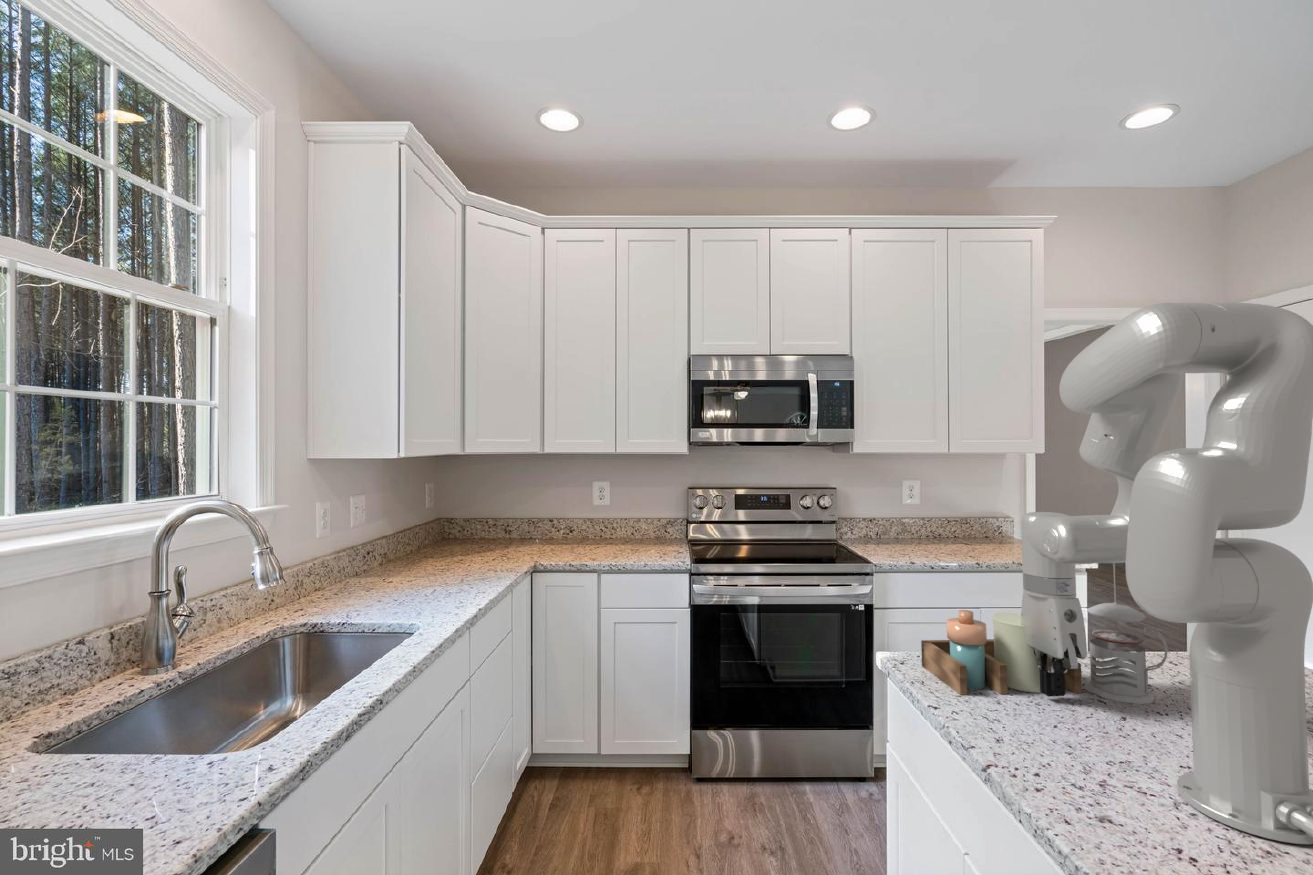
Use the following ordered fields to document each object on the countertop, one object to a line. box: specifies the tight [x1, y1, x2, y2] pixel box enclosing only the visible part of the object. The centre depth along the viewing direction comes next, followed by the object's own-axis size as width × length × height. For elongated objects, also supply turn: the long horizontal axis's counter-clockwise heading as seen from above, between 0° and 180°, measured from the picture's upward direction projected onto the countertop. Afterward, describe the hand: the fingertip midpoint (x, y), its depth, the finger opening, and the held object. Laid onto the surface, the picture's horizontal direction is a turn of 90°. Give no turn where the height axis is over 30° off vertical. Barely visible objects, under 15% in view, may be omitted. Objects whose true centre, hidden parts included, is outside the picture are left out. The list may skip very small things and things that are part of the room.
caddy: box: [920, 638, 1083, 696], centre depth 108 cm, size 14×22×5 cm, turn 91°
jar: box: [950, 640, 987, 691], centre depth 106 cm, size 6×6×8 cm
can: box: [992, 612, 1043, 694], centre depth 106 cm, size 9×9×12 cm
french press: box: [1084, 563, 1169, 705], centre depth 101 cm, size 10×12×25 cm
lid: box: [946, 609, 988, 645], centre depth 106 cm, size 6×6×5 cm
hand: (1052, 693), depth 98 cm, fingers closed
